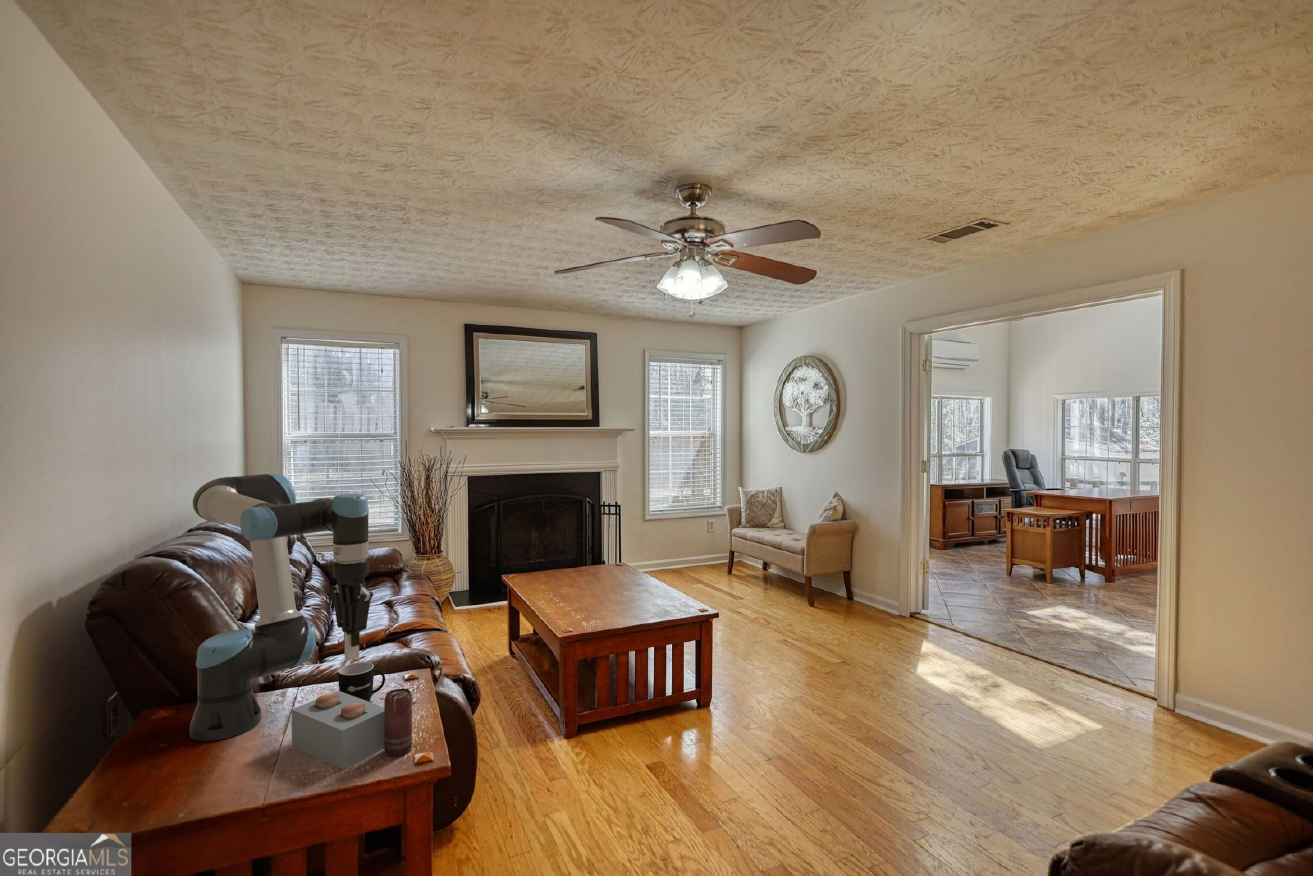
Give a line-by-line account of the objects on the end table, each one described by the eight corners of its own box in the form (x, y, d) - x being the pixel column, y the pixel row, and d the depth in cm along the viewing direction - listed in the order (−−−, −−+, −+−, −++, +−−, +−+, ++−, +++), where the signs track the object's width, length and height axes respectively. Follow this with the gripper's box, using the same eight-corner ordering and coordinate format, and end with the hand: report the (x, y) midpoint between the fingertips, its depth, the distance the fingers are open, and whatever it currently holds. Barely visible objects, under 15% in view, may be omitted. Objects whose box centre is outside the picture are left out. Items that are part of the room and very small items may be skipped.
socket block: (292, 746, 151) (291, 709, 151) (338, 725, 161) (338, 690, 161) (343, 769, 141) (342, 730, 141) (389, 745, 151) (388, 709, 151)
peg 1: (311, 739, 153) (311, 700, 152) (331, 730, 157) (331, 692, 157) (324, 745, 150) (323, 705, 150) (344, 735, 155) (344, 696, 154)
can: (382, 760, 145) (382, 700, 145) (386, 746, 151) (386, 689, 151) (410, 756, 147) (410, 697, 146) (412, 742, 153) (413, 686, 152)
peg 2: (336, 750, 148) (336, 709, 147) (356, 740, 152) (356, 701, 152) (350, 756, 145) (349, 715, 145) (370, 746, 150) (369, 706, 149)
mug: (341, 715, 167) (341, 677, 166) (335, 702, 174) (335, 666, 174) (389, 703, 174) (389, 667, 174) (381, 691, 181) (381, 657, 181)
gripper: (319, 559, 147) (320, 658, 148) (353, 566, 141) (354, 670, 142) (348, 553, 154) (349, 648, 155) (382, 560, 147) (383, 658, 148)
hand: (352, 658), depth 148 cm, fingers closed
